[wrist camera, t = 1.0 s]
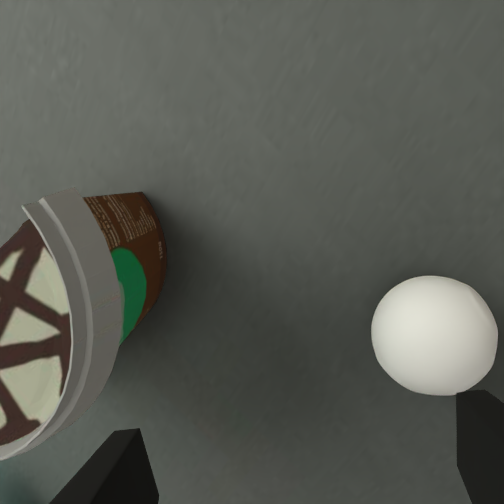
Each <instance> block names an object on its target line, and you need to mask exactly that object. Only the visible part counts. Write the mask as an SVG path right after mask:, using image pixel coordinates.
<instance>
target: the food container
mask: <svg viewBox="0 0 504 504" xmlns="http://www.w3.org/2000/svg"><path fill="white" fill-rule="evenodd" d="M22 209H23V210H24V211H25V213H26V214H27V216H28V217H29V218H30V219H29V220H27V221H26V222H24V223H23V224H22V226H21V227H20V229H19V230H18V231H17V232H16V233H15V234H14V235H13V236H12V237H11V238H10V239H9V240H8V241H7V242H6V243H5V244H4V245H3V246H2V247H1V248H0V461H1V460H5V459H8V458H11V457H14V456H17V455H20V454H22V453H25V452H26V451H28V450H30V449H32V448H33V447H35V446H37V445H38V444H40V443H42V442H44V441H45V440H47V439H48V438H50V437H52V436H53V435H55V434H57V433H58V432H60V431H62V430H63V429H65V428H67V427H68V426H70V425H71V424H73V423H74V422H75V421H76V420H77V419H78V418H79V417H80V416H82V415H83V414H84V413H85V412H86V411H87V410H88V409H89V408H90V406H91V405H92V404H93V402H94V401H95V400H96V399H97V397H98V396H99V395H100V393H101V392H102V390H103V388H104V386H105V384H106V382H107V380H108V378H109V376H110V374H111V372H112V369H113V366H114V362H115V359H116V355H117V352H118V348H119V346H120V345H121V343H122V342H123V341H124V340H125V339H126V338H127V336H128V335H129V334H130V333H131V332H132V331H133V329H134V328H135V327H136V326H137V325H138V324H139V322H140V321H141V320H142V319H143V318H144V317H145V315H146V314H147V313H148V312H149V311H150V309H151V308H152V306H153V305H154V304H155V302H156V301H157V298H158V296H159V294H160V292H161V290H162V287H163V283H164V280H165V275H166V267H167V252H166V244H165V239H164V234H163V231H162V228H161V225H160V222H159V219H158V218H157V216H156V214H155V212H154V210H153V208H152V206H151V204H150V203H149V201H148V200H147V199H146V197H145V196H144V194H143V193H142V192H134V193H124V194H114V195H104V196H94V197H84V198H82V197H81V196H80V194H79V193H78V191H77V190H76V189H75V187H74V188H70V189H67V190H64V191H61V192H57V193H54V194H51V195H48V196H45V197H42V198H41V199H40V200H39V201H38V202H35V203H30V204H26V205H23V206H22Z"/></svg>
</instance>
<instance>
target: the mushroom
mask: <svg viewBox="0 0 504 504" xmlns="http://www.w3.org/2000/svg"><path fill="white" fill-rule="evenodd" d="M371 338H372V344H373V348H374V351H375V355H376V358H377V360H378V362H379V363H380V365H381V366H382V368H383V369H384V370H385V371H386V372H387V373H388V374H389V375H390V376H391V377H392V378H393V379H394V380H395V381H396V382H398V383H399V384H401V385H402V386H404V387H405V388H407V389H409V390H411V391H414V392H417V393H423V394H428V395H445V396H449V395H455V394H456V393H458V392H463V391H466V390H467V389H469V388H471V387H472V386H474V385H475V384H477V383H478V382H479V381H480V380H481V379H482V378H483V377H484V376H485V375H486V374H487V373H488V372H489V371H490V369H491V367H492V365H493V363H494V359H495V354H496V349H497V340H498V329H497V325H496V322H495V319H494V317H493V315H492V313H491V311H490V309H489V307H488V306H487V304H486V303H485V301H484V300H483V298H482V297H481V296H480V295H479V294H478V293H477V292H476V291H475V290H474V289H473V288H472V287H470V286H469V285H467V284H464V283H462V282H459V281H457V280H454V279H451V278H447V277H441V276H420V277H415V278H411V279H408V280H406V281H404V282H402V283H400V284H398V285H396V286H395V287H394V288H392V289H391V290H390V291H389V292H388V293H387V294H386V295H385V296H384V297H383V298H382V300H381V301H380V303H379V304H378V306H377V308H376V310H375V313H374V316H373V320H372V326H371Z"/></svg>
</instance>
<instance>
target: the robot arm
mask: <svg viewBox="0 0 504 504" xmlns="http://www.w3.org/2000/svg"><path fill="white" fill-rule="evenodd" d="M456 414H457V466H458V469H459V472H460V474H461V477H462V479H463V482H464V484H465V487H466V490H467V492H468V494H469V497H470V499H471V502H472V504H504V403H503V402H501V401H500V400H499V399H497V398H496V397H495V396H493V395H492V394H490V393H489V392H488V391H486V390H485V389H484V390H475V391H466V392H458V393H456ZM158 500H159V493H158V490H157V486H156V483H155V479H154V476H153V473H152V469H151V466H150V462H149V459H148V455H147V452H146V449H145V445H144V442H143V438H142V435H141V431H140V428H137V429H128V430H120V431H114V432H113V433H112V434H111V435H110V436H109V437H108V438H107V440H106V441H105V442H104V443H103V444H102V445H101V446H100V447H99V448H98V450H97V451H96V452H95V453H94V454H93V455H92V456H91V458H90V459H89V460H88V461H87V462H86V463H85V464H84V466H83V467H82V468H81V469H80V470H79V471H78V472H77V473H76V475H75V476H74V477H73V478H72V479H71V480H70V481H69V482H68V483H67V484H66V486H65V487H64V488H63V489H62V490H61V491H60V492H59V493H58V494H57V496H56V497H55V498H54V499H53V500H52V501H51V502H50V503H49V504H158Z"/></svg>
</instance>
